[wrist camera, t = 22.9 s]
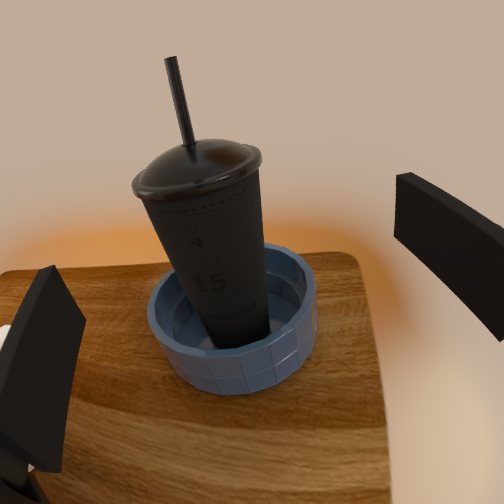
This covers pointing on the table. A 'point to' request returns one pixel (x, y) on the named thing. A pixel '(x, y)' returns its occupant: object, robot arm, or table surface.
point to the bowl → (249, 356)
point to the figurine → (3, 333)
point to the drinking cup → (211, 226)
